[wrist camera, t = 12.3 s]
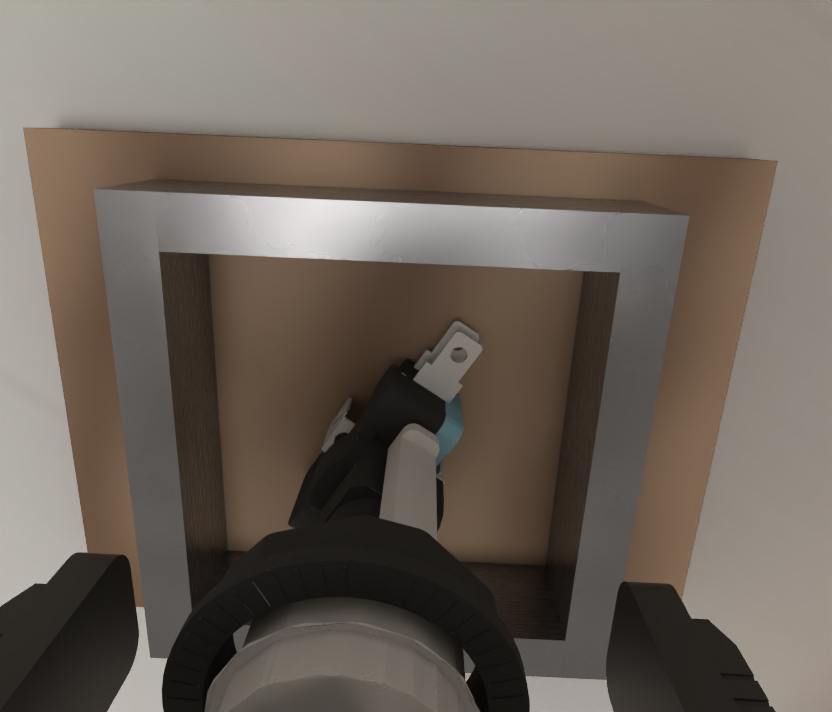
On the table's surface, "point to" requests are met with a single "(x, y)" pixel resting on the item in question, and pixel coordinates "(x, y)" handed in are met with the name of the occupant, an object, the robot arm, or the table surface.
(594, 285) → the socket
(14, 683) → the robot arm
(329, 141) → the mounting board
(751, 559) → the table surface
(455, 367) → the push button
